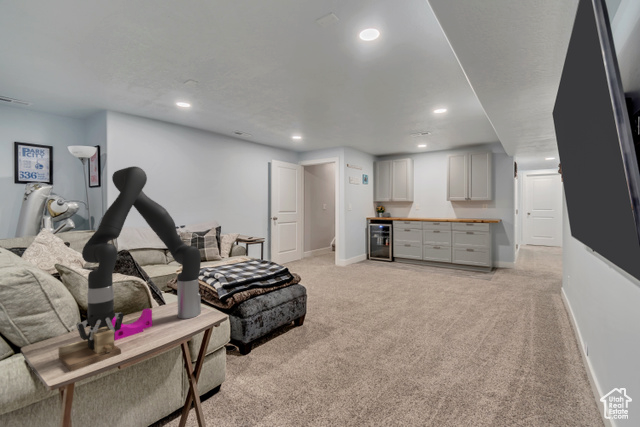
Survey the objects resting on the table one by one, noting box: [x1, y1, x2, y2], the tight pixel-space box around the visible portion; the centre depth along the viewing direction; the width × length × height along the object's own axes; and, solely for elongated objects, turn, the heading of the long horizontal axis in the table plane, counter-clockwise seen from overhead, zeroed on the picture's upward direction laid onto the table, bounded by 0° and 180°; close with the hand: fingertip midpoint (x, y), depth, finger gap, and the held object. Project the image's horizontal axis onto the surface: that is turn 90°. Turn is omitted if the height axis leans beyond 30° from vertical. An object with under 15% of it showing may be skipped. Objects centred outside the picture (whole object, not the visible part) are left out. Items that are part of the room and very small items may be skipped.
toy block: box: [111, 307, 153, 341], centre depth 123 cm, size 15×6×8 cm, turn 144°
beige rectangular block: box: [93, 327, 115, 354], centre depth 105 cm, size 5×11×6 cm, turn 54°
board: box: [58, 339, 122, 372], centre depth 103 cm, size 14×13×4 cm
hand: (101, 346), depth 106 cm, fingers closed on beige rectangular block, 5 cm apart
